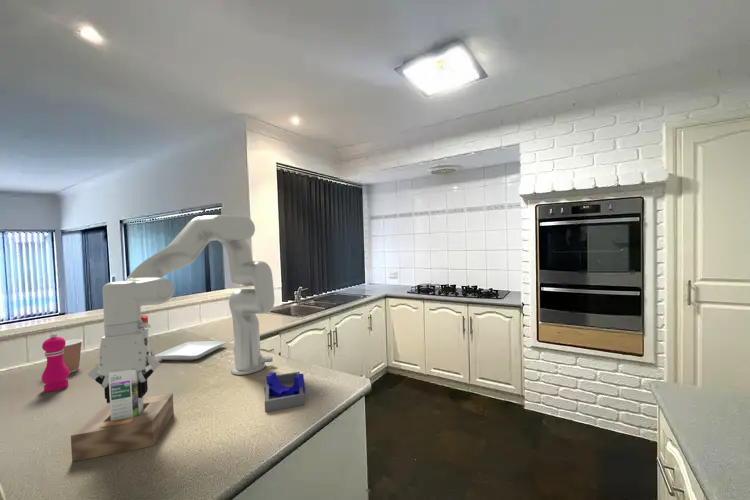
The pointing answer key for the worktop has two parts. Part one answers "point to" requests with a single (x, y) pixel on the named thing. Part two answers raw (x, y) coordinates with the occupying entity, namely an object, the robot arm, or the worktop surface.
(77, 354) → the coffee cup
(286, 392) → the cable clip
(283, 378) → the clip frame
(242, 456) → the worktop surface
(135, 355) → the robot arm
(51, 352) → the pepper mill
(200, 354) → the salad plate
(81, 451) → the socket block
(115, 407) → the syrup box
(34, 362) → the worktop surface
